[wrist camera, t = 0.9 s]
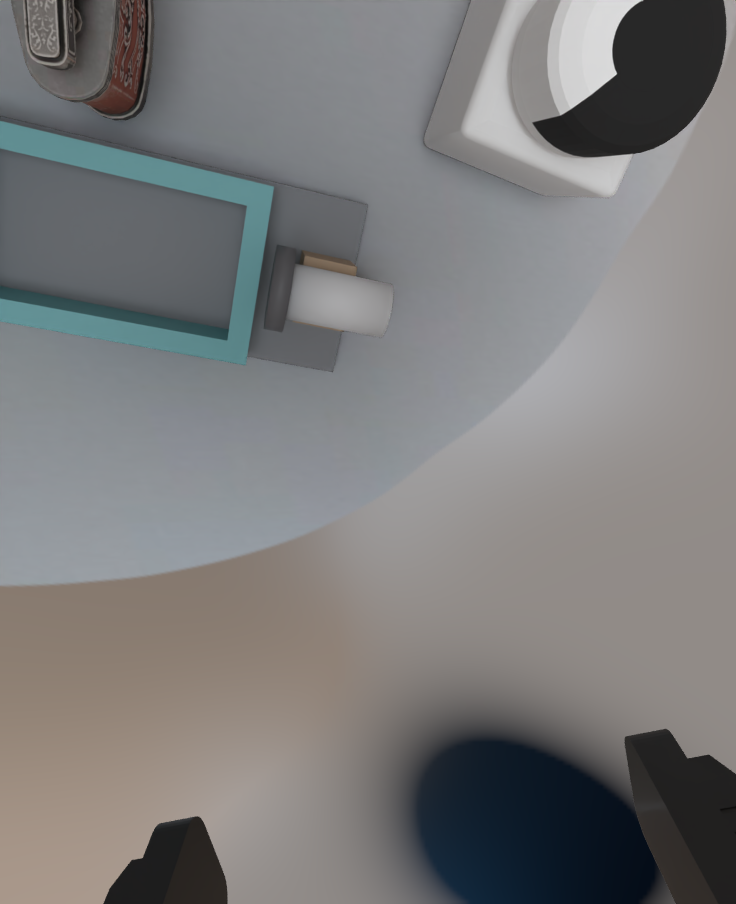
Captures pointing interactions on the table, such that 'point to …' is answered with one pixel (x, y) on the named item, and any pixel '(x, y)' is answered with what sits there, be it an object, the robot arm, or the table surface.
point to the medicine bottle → (574, 87)
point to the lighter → (90, 51)
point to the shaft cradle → (177, 253)
